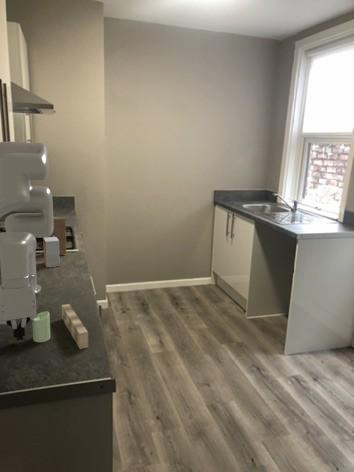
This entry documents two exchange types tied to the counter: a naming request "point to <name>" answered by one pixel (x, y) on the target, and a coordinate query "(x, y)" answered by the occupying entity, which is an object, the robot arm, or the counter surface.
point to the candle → (41, 327)
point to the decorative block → (60, 233)
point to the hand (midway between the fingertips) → (19, 338)
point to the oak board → (75, 326)
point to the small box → (51, 251)
